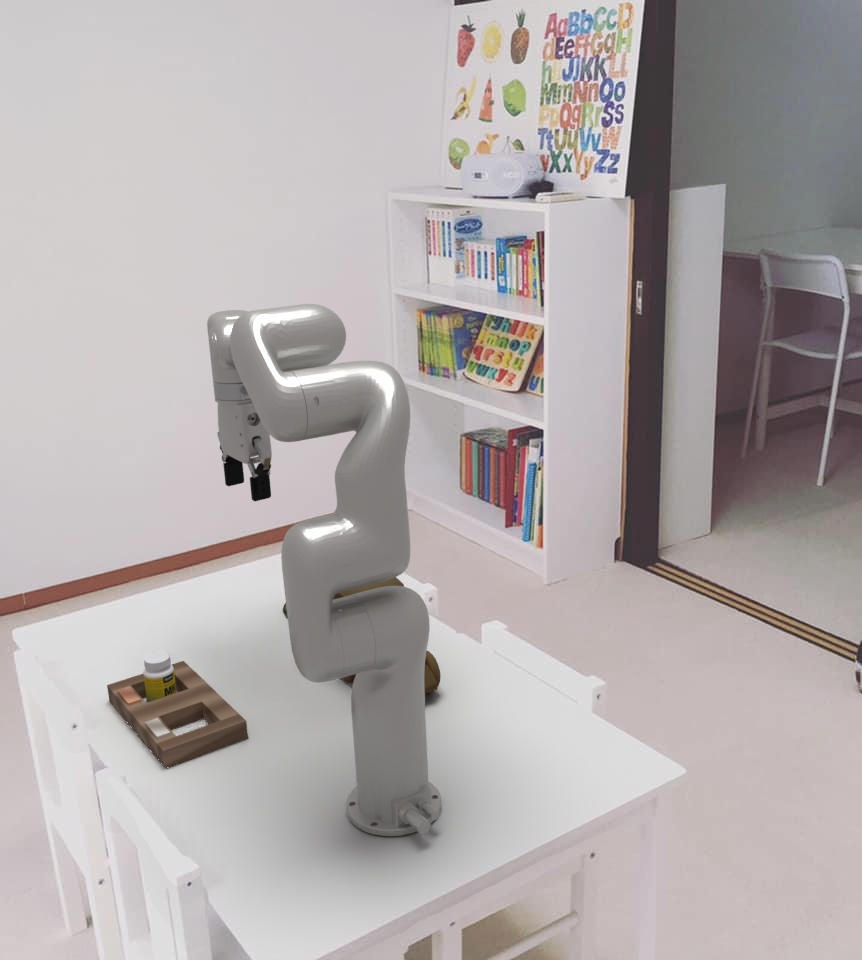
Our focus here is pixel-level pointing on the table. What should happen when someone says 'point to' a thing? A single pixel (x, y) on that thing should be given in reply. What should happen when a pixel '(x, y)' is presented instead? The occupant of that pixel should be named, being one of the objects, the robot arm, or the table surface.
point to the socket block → (178, 716)
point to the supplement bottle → (158, 676)
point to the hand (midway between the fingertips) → (248, 491)
